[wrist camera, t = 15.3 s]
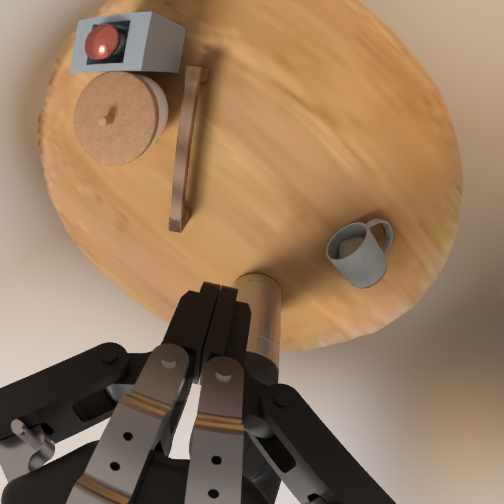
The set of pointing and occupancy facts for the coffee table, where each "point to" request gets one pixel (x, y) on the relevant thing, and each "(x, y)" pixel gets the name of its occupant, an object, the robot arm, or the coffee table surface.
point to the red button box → (133, 44)
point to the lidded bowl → (120, 117)
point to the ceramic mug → (360, 253)
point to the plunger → (105, 42)
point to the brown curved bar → (185, 146)
